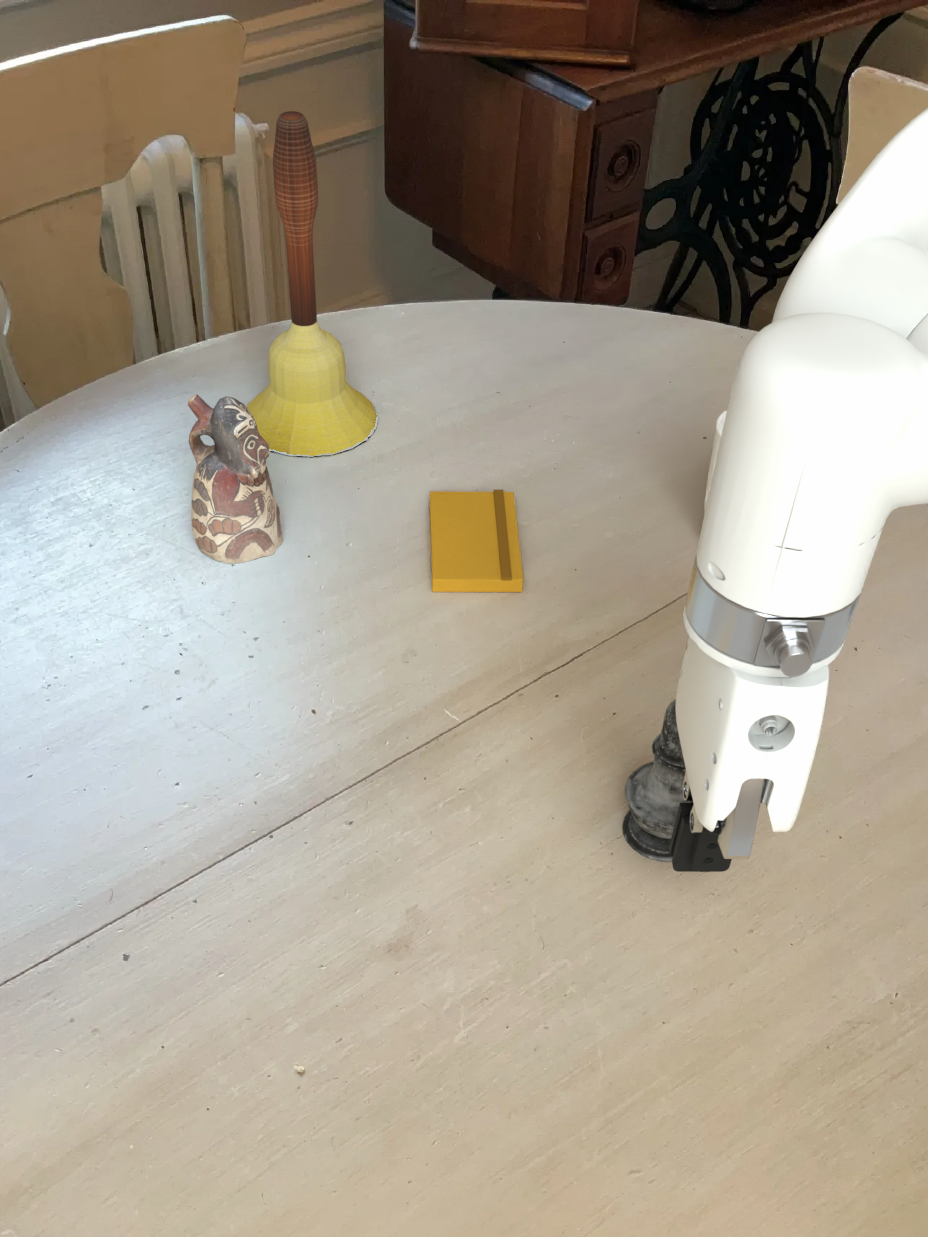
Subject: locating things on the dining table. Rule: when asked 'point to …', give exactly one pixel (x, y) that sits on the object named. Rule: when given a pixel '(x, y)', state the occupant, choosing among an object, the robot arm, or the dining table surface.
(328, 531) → the dining table surface
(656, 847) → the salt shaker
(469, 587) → the yellow strapped notebook
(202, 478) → the figurine
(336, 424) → the handbell
